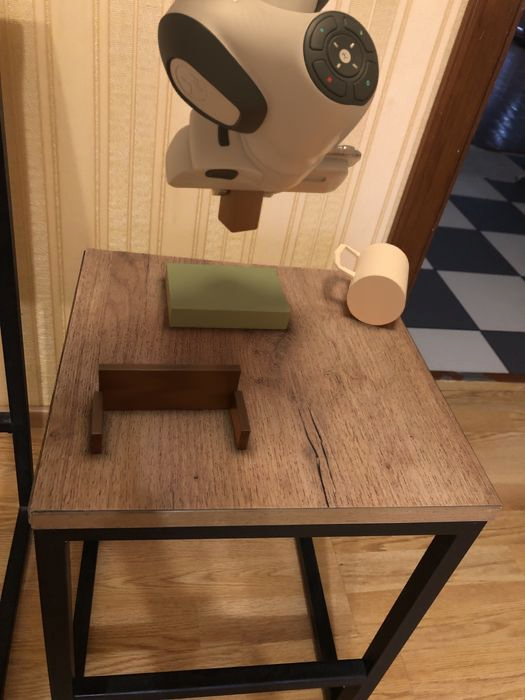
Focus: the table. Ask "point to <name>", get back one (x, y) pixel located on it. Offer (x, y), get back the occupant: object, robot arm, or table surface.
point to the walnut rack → (169, 392)
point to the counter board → (225, 297)
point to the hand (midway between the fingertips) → (240, 190)
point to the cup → (376, 282)
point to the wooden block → (240, 210)
